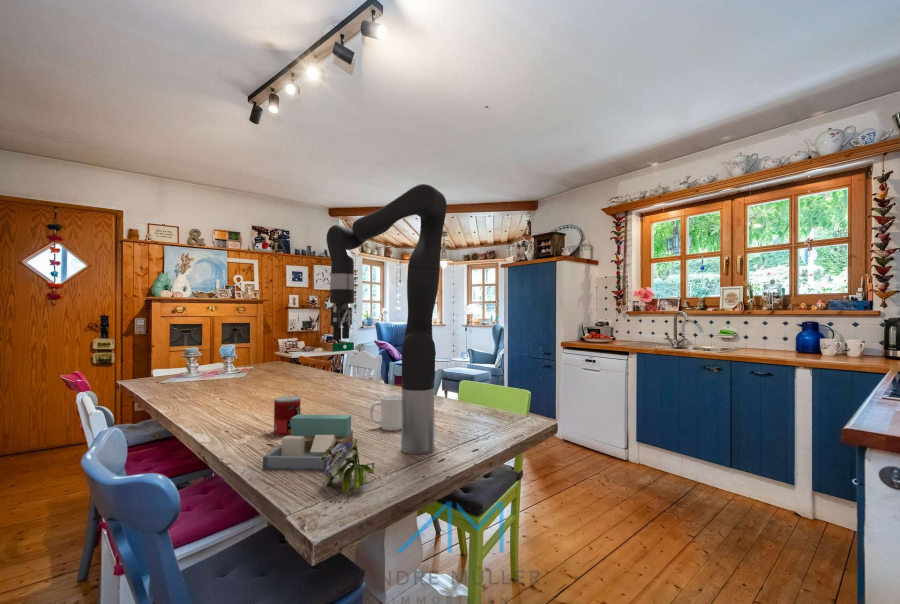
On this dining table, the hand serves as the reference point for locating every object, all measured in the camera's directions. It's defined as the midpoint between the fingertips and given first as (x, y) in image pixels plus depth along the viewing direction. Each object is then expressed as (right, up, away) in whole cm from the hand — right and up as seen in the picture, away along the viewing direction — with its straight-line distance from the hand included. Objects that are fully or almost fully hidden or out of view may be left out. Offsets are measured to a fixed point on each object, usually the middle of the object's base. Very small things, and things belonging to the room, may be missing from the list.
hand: (341, 339), depth 122 cm
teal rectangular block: (-2, -26, -12) cm, 29 cm away
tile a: (+1, -27, -20) cm, 34 cm away
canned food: (-18, -30, +1) cm, 35 cm away
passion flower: (+12, -29, -37) cm, 48 cm away
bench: (-2, -30, -13) cm, 32 cm away
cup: (+14, -31, +7) cm, 34 cm away
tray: (-3, -29, -24) cm, 38 cm away
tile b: (-7, -26, -20) cm, 34 cm away
